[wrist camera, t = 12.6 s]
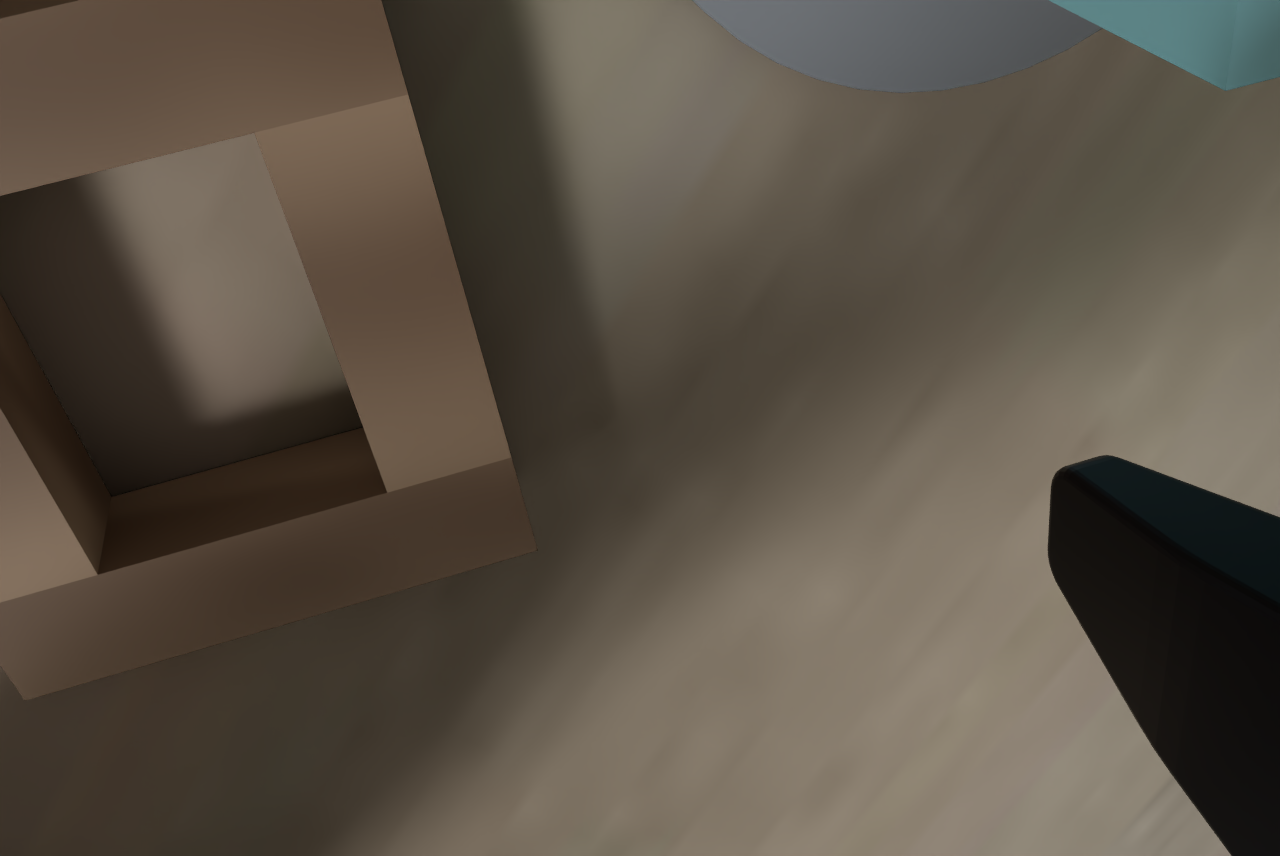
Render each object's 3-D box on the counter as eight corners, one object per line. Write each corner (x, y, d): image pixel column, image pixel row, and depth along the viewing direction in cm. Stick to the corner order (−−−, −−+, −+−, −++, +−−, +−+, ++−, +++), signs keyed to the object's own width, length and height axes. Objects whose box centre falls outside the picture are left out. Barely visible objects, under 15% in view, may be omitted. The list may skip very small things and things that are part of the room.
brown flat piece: (518, 481, 22) (537, 550, 20) (43, 616, 21) (24, 700, 19) (353, -100, 16) (362, -67, 14) (-317, 54, 15) (-385, 107, 14)
